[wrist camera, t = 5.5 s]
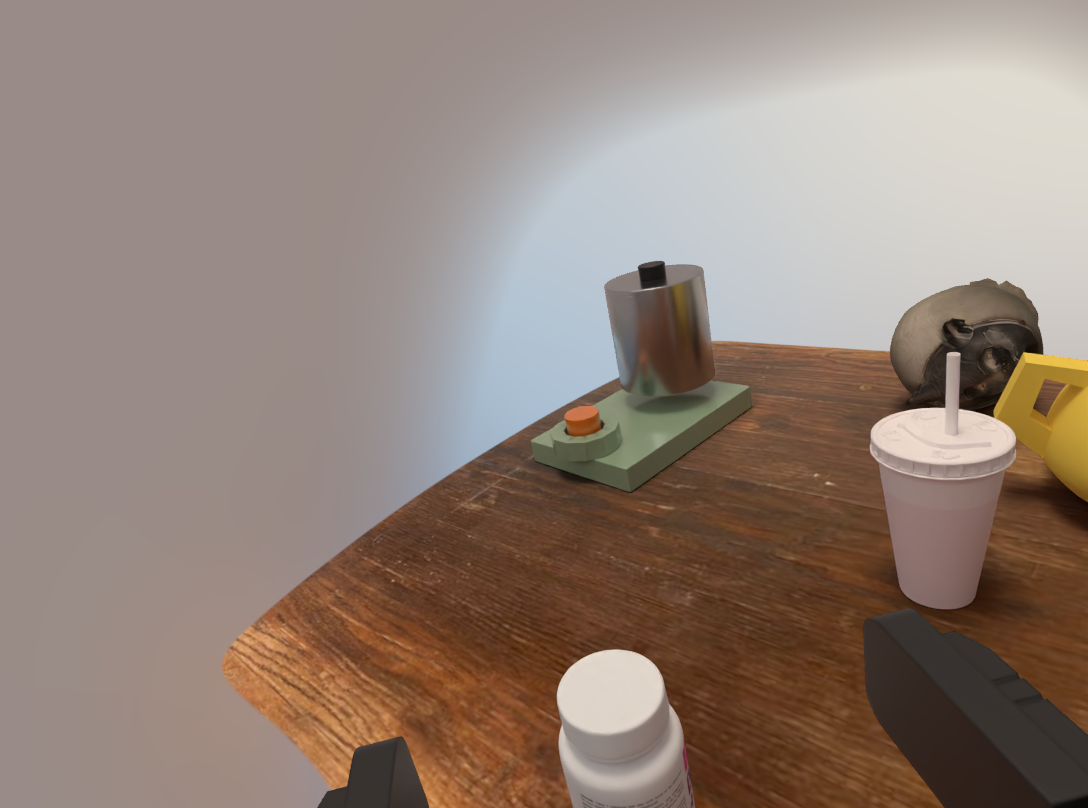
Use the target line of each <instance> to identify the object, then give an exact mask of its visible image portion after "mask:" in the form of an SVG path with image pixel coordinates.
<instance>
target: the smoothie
mask: <svg viewBox="0 0 1088 808" xmlns="http://www.w3.org/2000/svg"><path fill="white" fill-rule="evenodd" d="M959 382H960V353H958V352H950V353H947V364H946V404H945V408H921V409H913V410H907V411H903V412H899V413H895V414H892V415H890V416H888V417H885V418H883V419H882V420H880V421H879V422H877V423H876V424H875V425H874V427H873V428H872V430H871V443H870V452H871V455H872V456H873V457H874V458H875V459H876V461H877V462H879V468H880V475H881V482H882V486H883V492H884V498H885V504H886V509H887V515H888V521H889V527H890V533H891V539H892V545H893V551H894V557H895V562H896V568H897V574H898V580H899V586H900V588H901V590H902V592H903V593H904V594H905V595H906V596H907V597H908V598H910V599H911V600H913V601H914V602H916V603H919V604H921V605H924V606H927V607H931V608H936V609H957V608H961V607H964V606H966V605H968V604H970V603H971V602H972V601H973V600H974V598H975V596H976V592H977V587H978V583H979V579H980V575H981V570H982V566H983V562H984V558H985V553H986V549H987V545H988V541H989V536H990V532H991V528H992V524H993V519H994V515H995V511H996V507H997V502H998V498H999V494H1000V491H1001V487H1002V482H1003V477H1004V472H1005V469H1006V468H1008V467H1009V466H1010V465H1011V464H1012V463H1013V462H1014V460H1015V458H1016V450H1015V445H1016V436H1015V434H1014V432H1013V431H1012V429H1011V428H1010V427H1009V426H1007V425H1006V424H1005V423H1003V422H1001V421H999V420H997V419H995V418H993V417H990V416H988V415H985V414H981V413H977V412H973V411H968V410H962V409H959Z"/></svg>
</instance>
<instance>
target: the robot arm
mask: <svg viewBox="0 0 1088 808" xmlns="http://www.w3.org/2000/svg"><path fill="white" fill-rule="evenodd" d="M863 634H864V657H865V679H866V691H867V695H868V699H869V702H870V705H871V707H872V709H873V712H874V714H875V716H876V717H877V719H878V721H879V723H880V724H881V726H882V727H883V728H884V730H885V731H886V732H887V734H888V735H889V736H890V738H891V739H892V740H893V741H894V743H895V744H896V745H897V747H898V748H899V749H900V750H901V752H902V753H903V754H904V756H905V757H906V758H907V759H908V761H909V762H910V763H911V765H912V766H913V767H914V769H915V770H916V771H917V772H918V774H919V775H920V776H921V778H922V779H923V780H924V781H925V783H926V784H927V785H928V787H929V788H930V789H931V790H932V792H933V793H934V794H935V796H936V797H937V798H938V800H939V801H940V802H941V803H942V805H943V806H944V807H945V808H1088V735H1087V734H1086V733H1085V732H1084V731H1083V730H1082V729H1080V728H1079V727H1078V726H1077V725H1076V724H1075V723H1074V722H1072V721H1071V720H1070V719H1069V718H1068V717H1067V716H1066V715H1065V714H1063V713H1062V712H1061V711H1060V710H1059V709H1058V708H1057V707H1055V706H1054V705H1053V704H1052V703H1051V702H1050V701H1049V700H1048V699H1046V700H1044V699H1043V698H1042V696H1041V693H1040V692H1038V691H1037V690H1036V689H1035V688H1034V687H1033V686H1032V685H1030V684H1029V683H1028V682H1027V681H1026V680H1025V679H1024V678H1023V679H1020V677H1019V676H1018V673H1017V672H1016V671H1015V670H1013V669H1012V668H1011V667H1010V666H1009V665H1008V664H1007V663H1005V662H1004V661H1003V660H1002V659H1001V658H1000V657H999V656H998V655H996V654H995V653H994V652H993V651H992V650H991V649H989V648H987V647H985V646H983V645H981V644H979V643H977V642H975V641H973V640H971V639H969V638H967V637H965V636H963V635H961V634H959V633H957V632H955V631H953V632H949V633H945V634H941V633H940V632H939V631H938V630H937V629H936V628H935V627H934V626H933V625H931V624H930V623H929V622H928V621H927V620H926V619H925V618H924V617H923V616H922V615H921V614H920V613H918V612H917V611H916V610H914V609H911V608H907V609H903V610H899V611H895V612H891V613H887V614H883V615H879V616H875V617H872V618H868V619H866V620H865V622H864V626H863ZM318 808H429V805H428V802H427V798H426V796H425V793H424V790H423V787H422V785H421V782H420V779H419V776H418V774H417V771H416V768H415V765H414V763H413V760H412V757H411V755H410V752H409V749H408V746H407V744H406V741H405V740H404V738H403V737H397V738H393V739H389V740H385V741H381V742H377V743H373V744H369V745H365V746H362V747H358V748H357V749H356V750H355V752H354V754H353V758H352V764H351V769H350V774H349V779H348V785H347V787H343V788H339V789H335V790H331V791H328V792H327V793H326V794H325V796H324V798H323V799H322V801H321V803H320V804H319V806H318Z"/></svg>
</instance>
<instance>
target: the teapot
mask: <svg viewBox="0 0 1088 808" xmlns="http://www.w3.org/2000/svg"><path fill="white" fill-rule="evenodd" d="M1044 379H1048V380H1052V381H1056V382H1061V383H1065V384H1067V385H1066V386H1065V387H1064V388H1063V389H1062V390H1061V392H1060V393H1059V395H1058V396H1057V398H1056V399H1055V401H1054V403H1053V404H1052V406H1051V408H1050V410H1049V412H1048V415H1047V417H1045V416H1043V415H1042V414H1040V413H1039V412H1037V411H1036V410H1034V409H1033V407H1034V404H1035V401H1036V399H1037V396H1038V394H1039V391H1040V389H1041V386H1042V384H1043V381H1044ZM994 418H995V419H997V420H999V421H1001V422H1003V423H1005V424H1006V425H1007V426H1009V427H1010V428H1011V429H1012V431H1013V432H1014V434H1015V436H1016V438H1017V439H1018V440H1019V441H1021V442H1022V443H1023V444H1025V445H1026V446H1027V447H1029V448H1030V449H1031V450H1033V451H1034V452H1035V453H1037V454H1038V455H1040V456H1041V457H1042V458H1043V460H1044V462H1045V463H1046V465H1047V467H1048V468H1049V469H1050V470H1051V471H1052V472H1053V473H1054V474H1055V476H1056V477H1057V478H1058V479H1059V480H1060V481H1061V482H1062V483H1063V484H1064V485H1066V486H1067V487H1068V488H1069V489H1070V490H1071V491H1072V492H1074V493H1075V494H1076V495H1077V496H1079V497H1080V498H1082V499H1083V500H1085V501H1086V502H1088V361H1086V360H1079V359H1071V358H1064V357H1056V356H1048V355H1041V354H1033V353H1025V352H1023V354H1022V356H1021V358H1020V360H1019V362H1018V364H1017V366H1016V368H1015V370H1014V372H1013V374H1012V376H1011V378H1010V379H1009V381H1008V383H1007V385H1006V387H1005V389H1004V391H1003V393H1002V395H1001V397H1000V399H999V401H998V403H997V405H996V407H995V409H994Z"/></svg>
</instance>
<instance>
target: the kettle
mask: <svg viewBox="0 0 1088 808" xmlns="http://www.w3.org/2000/svg"><path fill="white" fill-rule="evenodd" d="M604 288H605V294H606V300H607V306H608V311H609V317H610V323H611V329H612V335H613V340H614V346H615V353H616V358H617V364H618V370H619V375H620V382H621V387H622V388H623V390H624V391H626V392H628V393H630V394H633V395H637V396H646V397H660V396H670V395H676V394H681V393H685V392H688V391H692V390H694V389H697V388H699V387H701V386H703V385H705V384H707V383H708V382H709V381H711V380H712V378H713V377H714V375H715V369H714V360H713V351H712V342H711V334H710V325H709V316H708V307H707V299H706V289H705V281H704V272H703V269H702V268H701V267H699V266H696V265H667V266H665V263H664V262H663V261H654V262H648V263H644V264H641V265H639V266H638V271H635V272H631V273H627V274H624V275H621V276H619V277H616V278H614V279H612V280H610V281H609V282H607V283H606V284H605V287H604Z"/></svg>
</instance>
